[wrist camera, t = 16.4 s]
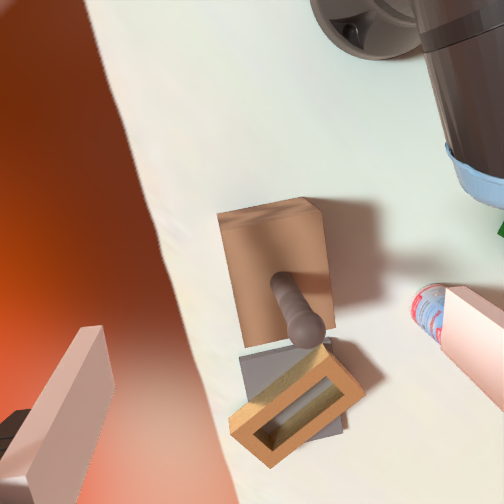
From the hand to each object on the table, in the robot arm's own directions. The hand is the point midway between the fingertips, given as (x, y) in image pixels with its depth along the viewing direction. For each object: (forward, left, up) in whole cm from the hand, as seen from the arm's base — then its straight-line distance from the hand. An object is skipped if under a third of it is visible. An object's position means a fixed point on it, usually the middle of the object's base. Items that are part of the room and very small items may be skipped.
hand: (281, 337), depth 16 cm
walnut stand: (-4, +8, -32) cm, 34 cm away
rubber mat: (-4, +28, -32) cm, 43 cm away
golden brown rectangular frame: (-4, +28, -31) cm, 42 cm away
